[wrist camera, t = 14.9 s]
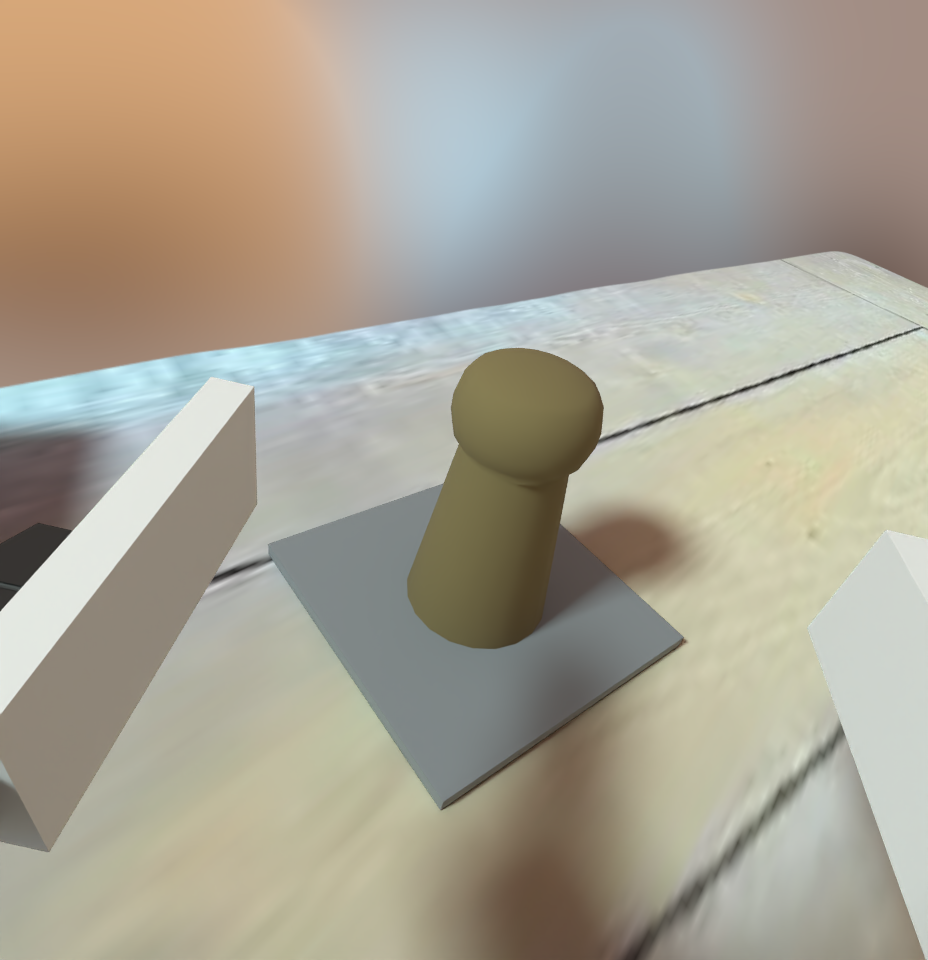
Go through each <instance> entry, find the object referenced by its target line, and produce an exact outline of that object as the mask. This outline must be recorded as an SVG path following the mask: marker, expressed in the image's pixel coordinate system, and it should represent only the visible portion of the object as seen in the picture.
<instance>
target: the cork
mask: <svg viewBox="0 0 928 960" xmlns="http://www.w3.org/2000/svg"><path fill="white" fill-rule="evenodd" d="M603 409H604V407H603V403H602V400H601V396H600V393H599V391H598V389H597V387H596V384H595V383H594V382H593V381H592V380H591V379H590V378H589V377H588V376H587V375H586V374H585V373H584V372H583V371H582V370H581V369H579V368H578V367H576V366H575V365H573V364H572V363H570V362H569V361H567V360H565V359H562V358H560V357H558V356H555V355H553V354H550V353H546V352H542V351H539V350H533V349H525V348H508V349H499V350H495V351H492V352H488V353H485V354H483V355H482V356H480V357H479V358H478V359H476V360H475V361H474V362H473V363H472V364H471V365H469V366H468V367H467V368H466V369H465V371H464V373H463V375H462V377H461V379H460V381H459V383H458V385H457V387H456V389H455V391H454V394H453V399H452V405H451V412H452V423H453V430H454V436H455V438H456V439H457V441H458V443H459V445H458V448H457V451H456V453H455V456H454V458H453V461H452V464H451V466H450V469H449V471H448V474H447V477H446V479H445V482H444V484H443V487H442V490H441V492H440V495H439V497H438V500H437V502H436V505H435V508H434V510H433V513H432V515H431V518H430V521H429V523H428V526H427V528H426V531H425V534H424V536H423V539H422V541H421V544H420V547H419V549H418V552H417V554H416V557H415V560H414V562H413V565H412V567H411V570H410V573H409V575H408V578H407V594H408V598H409V600H410V603H411V605H412V607H413V610H414V612H415V614H416V615H417V616H418V617H419V618H420V619H421V620H422V621H423V623H424V624H425V625H426V626H427V627H428V628H429V629H430V630H432V631H433V632H435V633H437V634H438V635H440V636H441V637H443V638H445V639H446V640H448V641H450V642H453V643H456V644H460V645H463V646H466V647H470V648H479V649H498V648H502V647H505V646H509V645H513V644H517V643H518V642H520V641H521V640H523V639H524V638H526V637H527V636H529V635H530V634H532V633H533V631H534V630H535V628H536V627H537V625H538V624H539V622H540V621H541V619H542V615H543V609H544V604H545V599H546V593H547V588H548V583H549V578H550V572H551V567H552V562H553V557H554V551H555V546H556V541H557V535H558V530H559V525H560V520H561V514H562V509H563V504H564V498H565V493H566V488H567V483H568V477H569V474H571V473H573V472H575V471H577V470H578V469H579V468H580V467H581V466H582V464H583V463H584V462H585V461H586V460H587V458H588V457H589V456H590V454H591V453H592V452H593V450H594V449H595V448H596V445H597V443H598V440H599V438H600V435H601V430H602V421H603Z"/></svg>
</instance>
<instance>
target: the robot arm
mask: <svg viewBox="0 0 928 960" xmlns="http://www.w3.org/2000/svg"><path fill="white" fill-rule="evenodd" d="M256 505H257V480H256V440H255V401H254V386H249V385H245V384H240V383H236V382H232V381H227V380H223V379H218V378H214V377H211V378H210V379H209V380H208V381H207V382H206V383H205V384H204V385H203V387H202V388H201V389H200V390H199V391H198V392H197V393H196V394H195V395H194V397H193V398H192V399H191V400H190V401H189V402H188V403H187V404H186V405H185V407H184V408H183V409H182V410H181V411H180V412H179V413H178V414H177V415H176V417H175V418H174V419H173V420H172V421H171V422H170V423H169V424H168V425H167V427H166V428H165V429H164V430H163V431H162V432H161V433H160V434H159V435H158V437H157V438H156V439H155V440H154V441H153V442H152V443H151V444H150V445H149V447H148V448H147V449H146V450H145V451H144V452H143V453H142V454H141V455H140V457H139V458H138V459H137V460H136V461H135V462H134V463H133V464H132V465H131V467H130V468H129V469H128V470H127V471H126V472H125V473H124V474H123V475H122V477H121V478H120V479H119V480H118V481H117V482H116V483H115V484H114V485H113V487H112V488H111V489H110V490H109V491H108V492H107V493H106V494H105V496H104V497H103V498H102V499H101V500H100V501H99V502H98V503H97V504H96V506H95V507H94V508H93V509H92V510H91V511H90V512H89V513H88V514H87V516H86V517H85V518H84V519H83V520H82V521H81V522H80V523H79V524H78V526H77V527H76V528H75V529H74V530H73V531H72V530H67V529H63V528H58V527H54V526H49V525H45V524H41V523H37V524H36V525H34V526H32V527H30V528H28V529H27V530H25V531H23V532H21V533H19V534H17V535H16V536H14V537H12V538H10V539H8V540H7V541H5V542H3V543H1V544H0V842H4V843H9V844H13V845H18V846H23V847H27V848H32V849H36V850H41V851H45V852H50V850H51V848H52V847H53V845H54V843H55V842H56V840H57V838H58V837H59V835H60V833H61V832H62V830H63V828H64V827H65V825H66V823H67V822H68V820H69V818H70V816H71V815H72V813H73V811H74V810H75V808H76V806H77V805H78V803H79V801H80V800H81V798H82V796H83V795H84V793H85V791H86V790H87V788H88V786H89V785H90V783H91V781H92V780H93V778H94V776H95V775H96V773H97V771H98V770H99V768H100V766H101V765H102V763H103V761H104V760H105V758H106V756H107V754H108V753H109V751H110V749H111V748H112V746H113V744H114V743H115V741H116V739H117V738H118V736H119V734H120V733H121V731H122V729H123V728H124V726H125V724H126V723H127V721H128V719H129V718H130V716H131V714H132V713H133V711H134V709H135V708H136V706H137V704H138V703H139V701H140V699H141V698H142V696H143V694H144V693H145V691H146V689H147V687H148V686H149V684H150V682H151V681H152V679H153V677H154V676H155V674H156V672H157V671H158V669H159V667H160V666H161V664H162V662H163V661H164V659H165V657H166V656H167V654H168V652H169V651H170V649H171V647H172V646H173V644H174V642H175V641H176V639H177V637H178V636H179V634H180V632H181V631H182V629H183V627H184V626H185V624H186V622H187V620H188V619H189V617H190V615H191V614H192V612H193V610H194V609H195V607H196V605H197V604H198V602H199V600H200V599H201V597H202V595H203V594H204V592H205V590H206V589H207V587H208V585H209V584H210V582H211V580H212V579H213V577H214V575H215V574H216V572H217V570H218V569H219V567H220V565H221V564H222V562H223V560H224V558H225V557H226V555H227V553H228V552H229V550H230V548H231V547H232V545H233V543H234V542H235V540H236V538H237V537H238V535H239V533H240V532H241V530H242V528H243V527H244V525H245V523H246V522H247V520H248V518H249V517H250V515H251V513H252V512H253V510H254V508H255V507H256ZM807 629H808V632H809V635H810V637H811V640H812V643H813V646H814V649H815V651H816V654H817V657H818V660H819V663H820V665H821V668H822V671H823V674H824V677H825V679H826V682H827V685H828V688H829V691H830V693H831V696H832V699H833V702H834V705H835V707H836V710H837V713H838V716H839V719H840V721H841V724H842V727H843V730H844V733H845V735H846V738H847V741H848V744H849V747H850V749H851V752H852V755H853V758H854V761H855V763H856V766H857V769H858V772H859V775H860V777H861V780H862V783H863V786H864V789H865V791H866V794H867V797H868V800H869V803H870V805H871V808H872V811H873V814H874V817H875V819H876V822H877V825H878V828H879V831H880V833H881V836H882V839H883V842H884V845H885V847H886V850H887V853H888V856H889V859H890V861H891V864H892V867H893V870H894V873H895V875H896V878H897V881H898V884H899V887H900V889H901V892H902V895H903V898H904V901H905V903H906V906H907V909H908V912H909V915H910V917H911V920H912V923H913V926H914V929H915V931H916V934H917V937H918V940H919V943H920V945H921V948H922V951H923V954H924V957H925V959H926V960H928V539H925V538H920V537H916V536H912V535H907V534H903V533H898V532H894V531H890V530H885V531H884V533H883V534H882V535H881V536H880V538H879V539H878V540H877V541H876V543H875V544H874V545H873V546H872V548H871V549H870V550H869V551H868V552H867V554H866V555H865V556H864V557H863V559H862V560H861V561H860V562H859V564H858V565H857V566H856V567H855V569H854V570H853V571H852V572H851V574H850V575H849V576H848V577H847V579H846V580H845V581H844V582H843V584H842V585H841V586H840V587H839V589H838V590H837V591H836V592H835V594H834V595H833V596H832V597H831V599H830V600H829V601H828V602H827V603H826V605H825V606H824V607H823V608H822V610H821V611H820V612H819V613H818V615H817V616H816V617H815V618H814V620H813V621H812V622H811V623H810V625H809V626H808V627H807Z"/></svg>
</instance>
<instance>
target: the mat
mask: <svg viewBox="0 0 928 960" xmlns="http://www.w3.org/2000/svg"><path fill="white" fill-rule="evenodd" d="M442 487H443V484H441V485H438V486H435V487H432V488H429V489H426V490H424V491H421V492H418V493H415V494H412V495H409V496H406V497H403V498H400V499H397V500H395V501H392V502H389V503H386V504H383V505H380V506H377V507H374V508H371V509H368V510H366V511H363V512H360V513H357V514H354V515H351V516H348V517H345V518H342V519H339V520H337V521H334V522H331V523H328V524H325V525H322V526H319V527H316V528H313V529H310V530H308V531H305V532H302V533H299V534H296V535H293V536H290V537H287V538H284V539H281V540H279V541H276V542H273V543H270V544H268V546H269V555H270V556H271V558H272V559H273V561H274V562H275V564H276V565H277V567H278V568H279V570H280V571H281V573H282V574H283V576H284V577H285V579H286V580H287V582H288V583H289V585H290V586H291V588H292V589H293V591H294V592H295V594H296V595H297V597H298V598H299V600H300V601H301V603H302V604H303V606H304V607H305V609H306V610H307V612H308V613H309V615H310V616H311V618H312V619H313V621H314V622H315V624H316V625H317V627H318V628H319V630H320V631H321V633H322V634H323V636H324V637H325V639H326V640H327V642H328V643H329V645H330V646H331V648H332V649H333V651H334V652H335V654H336V655H337V656H338V658H339V659H340V661H341V662H342V664H343V665H344V667H345V668H346V670H347V671H348V673H349V674H350V676H351V677H352V679H353V680H354V682H355V683H356V685H357V686H358V688H359V689H360V691H361V692H362V694H363V695H364V697H365V698H366V700H367V701H368V703H369V704H370V706H371V707H372V709H373V710H374V712H375V713H376V715H377V716H378V718H379V719H380V721H381V722H382V724H383V725H384V727H385V728H386V730H387V731H388V733H389V734H390V736H391V737H392V739H393V740H394V742H395V743H396V745H397V746H398V748H399V749H400V751H401V752H402V754H403V755H404V756H405V758H406V759H407V761H408V762H409V764H410V765H411V767H412V768H413V770H414V771H415V773H416V774H417V776H418V777H419V779H420V780H421V782H422V783H423V785H424V786H425V788H426V789H427V791H428V792H429V794H430V795H431V797H432V798H433V800H434V801H435V803H436V804H437V806H438V807H439V809H440V810H442V809H443V808H444V807H446V806H447V805H449V804H450V803H452V802H453V801H455V800H456V799H457V798H459V797H460V796H462V795H463V794H465V793H466V792H468V791H469V790H471V789H472V788H473V787H475V786H476V785H478V784H479V783H481V782H482V781H484V780H485V779H486V778H488V777H489V776H491V775H492V774H494V773H495V772H497V771H498V770H499V769H501V768H502V767H504V766H505V765H507V764H508V763H510V762H511V761H512V760H514V759H515V758H517V757H518V756H520V755H521V754H523V753H524V752H525V751H527V750H528V749H530V748H531V747H533V746H534V745H536V744H537V743H538V742H540V741H541V740H543V739H544V738H546V737H547V736H549V735H550V734H551V733H553V732H554V731H556V730H557V729H559V728H560V727H562V726H563V725H564V724H566V723H567V722H569V721H570V720H572V719H573V718H575V717H576V716H578V715H579V714H580V713H582V712H583V711H585V710H586V709H588V708H589V707H591V706H592V705H593V704H595V703H596V702H598V701H599V700H601V699H602V698H604V697H605V696H606V695H608V694H609V693H611V692H612V691H614V690H615V689H617V688H618V687H619V686H621V685H622V684H624V683H625V682H627V681H628V680H630V679H631V678H632V677H634V676H635V675H637V674H638V673H640V672H641V671H643V670H644V669H645V668H647V667H648V666H650V665H651V664H653V663H654V662H656V661H657V660H658V659H660V658H661V657H663V656H664V655H666V654H667V653H669V652H670V651H671V650H673V649H674V648H676V647H677V646H679V644H680V642H681V641H682V639H683V638H684V637H683V636H682V635H681V634H680V633H678V632H677V631H676V630H675V629H674V628H673V627H672V626H671V625H670V624H669V623H668V622H666V621H665V620H664V619H663V618H662V617H661V616H660V615H659V614H658V613H657V612H656V611H654V610H653V609H652V608H651V607H650V606H649V605H648V604H647V603H646V602H645V601H644V600H642V599H641V598H640V597H639V596H638V595H637V594H636V593H635V592H634V591H633V590H632V589H630V588H629V587H628V586H627V585H626V584H625V583H624V582H623V581H622V580H621V579H620V578H618V577H617V576H616V575H615V574H614V573H613V572H612V571H611V570H610V569H609V568H608V567H607V566H605V565H604V564H603V563H602V562H601V561H600V560H599V559H598V558H597V557H596V556H595V555H593V554H592V553H591V552H590V551H589V550H588V549H587V548H586V547H585V546H584V545H583V544H581V543H580V542H579V541H578V540H577V539H576V538H575V537H574V536H573V535H572V534H571V533H569V532H568V531H567V530H566V529H565V528H564V527H563V526H562V525H561V524H560V525H559V530H558V535H557V541H556V546H555V551H554V557H553V562H552V567H551V572H550V578H549V583H548V588H547V593H546V599H545V604H544V609H543V615H542V619H541V621H540V622H539V624H538V625H537V627H536V628H535V630H534V631H533V633H532V634H530V635H529V636H527V637H526V638H524V639H523V640H521V641H520V642H518V643H517V644H513V645H509V646H505V647H502V648H498V649H479V648H470V647H466V646H463V645H460V644H456V643H453V642H450V641H448V640H446V639H445V638H443V637H441V636H440V635H438V634H437V633H435V632H433V631H432V630H430V629H429V628H428V627H427V626H426V625H425V624H424V623H423V621H422V620H421V619H420V618H419V617H418V616H417V615H416V614H415V612H414V610H413V607H412V605H411V603H410V600H409V598H408V594H407V578H408V575H409V573H410V570H411V567H412V565H413V562H414V560H415V557H416V554H417V552H418V549H419V547H420V544H421V541H422V539H423V536H424V534H425V531H426V528H427V526H428V523H429V521H430V518H431V515H432V513H433V510H434V508H435V505H436V502H437V500H438V497H439V495H440V492H441V490H442Z"/></svg>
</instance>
